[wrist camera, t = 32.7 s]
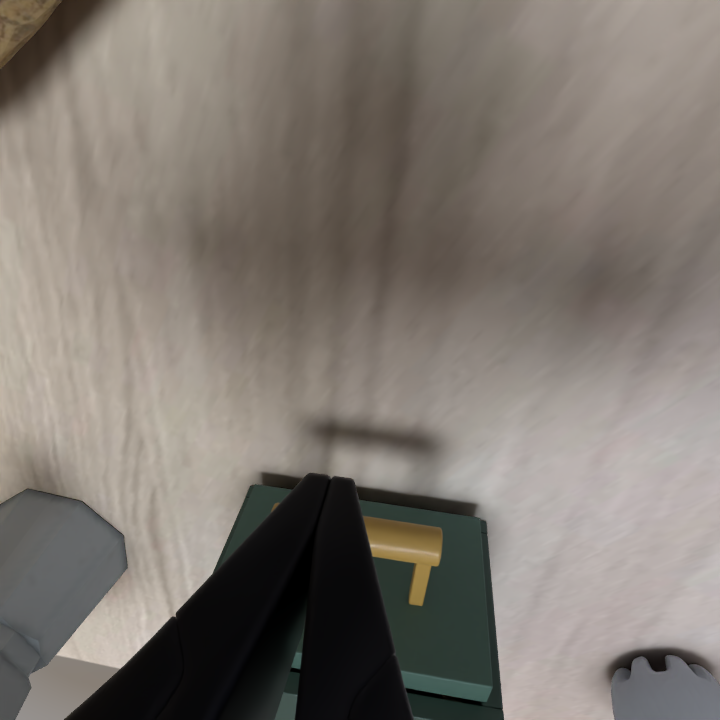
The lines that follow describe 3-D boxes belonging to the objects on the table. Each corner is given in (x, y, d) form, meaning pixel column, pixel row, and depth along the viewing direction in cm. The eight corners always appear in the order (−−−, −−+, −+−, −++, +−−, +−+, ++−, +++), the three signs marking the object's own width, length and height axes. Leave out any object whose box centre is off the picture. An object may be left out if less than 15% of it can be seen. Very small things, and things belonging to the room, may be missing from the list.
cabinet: (250, 485, 27) (169, 671, 19) (486, 520, 26) (505, 734, 18) (262, 633, 35) (208, 809, 27) (443, 665, 34) (444, 858, 26)
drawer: (249, 419, 23) (175, 565, 17) (498, 454, 23) (520, 623, 16) (265, 629, 33) (221, 774, 27) (439, 659, 32) (439, 817, 26)
